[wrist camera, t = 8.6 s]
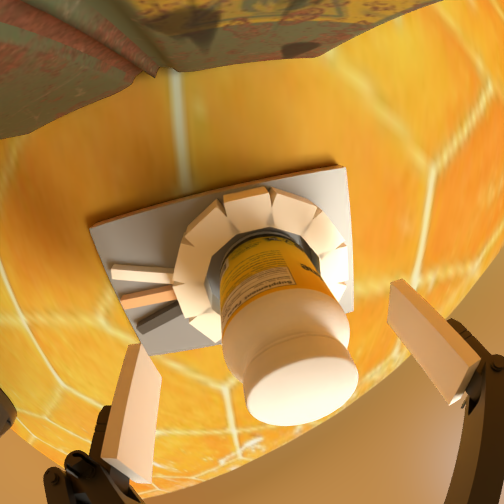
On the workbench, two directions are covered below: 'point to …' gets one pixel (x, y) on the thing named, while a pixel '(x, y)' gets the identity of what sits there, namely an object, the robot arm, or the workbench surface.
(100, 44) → the fuel can
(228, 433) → the workbench surface
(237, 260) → the pill bottle
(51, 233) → the workbench surface
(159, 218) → the junction plate
